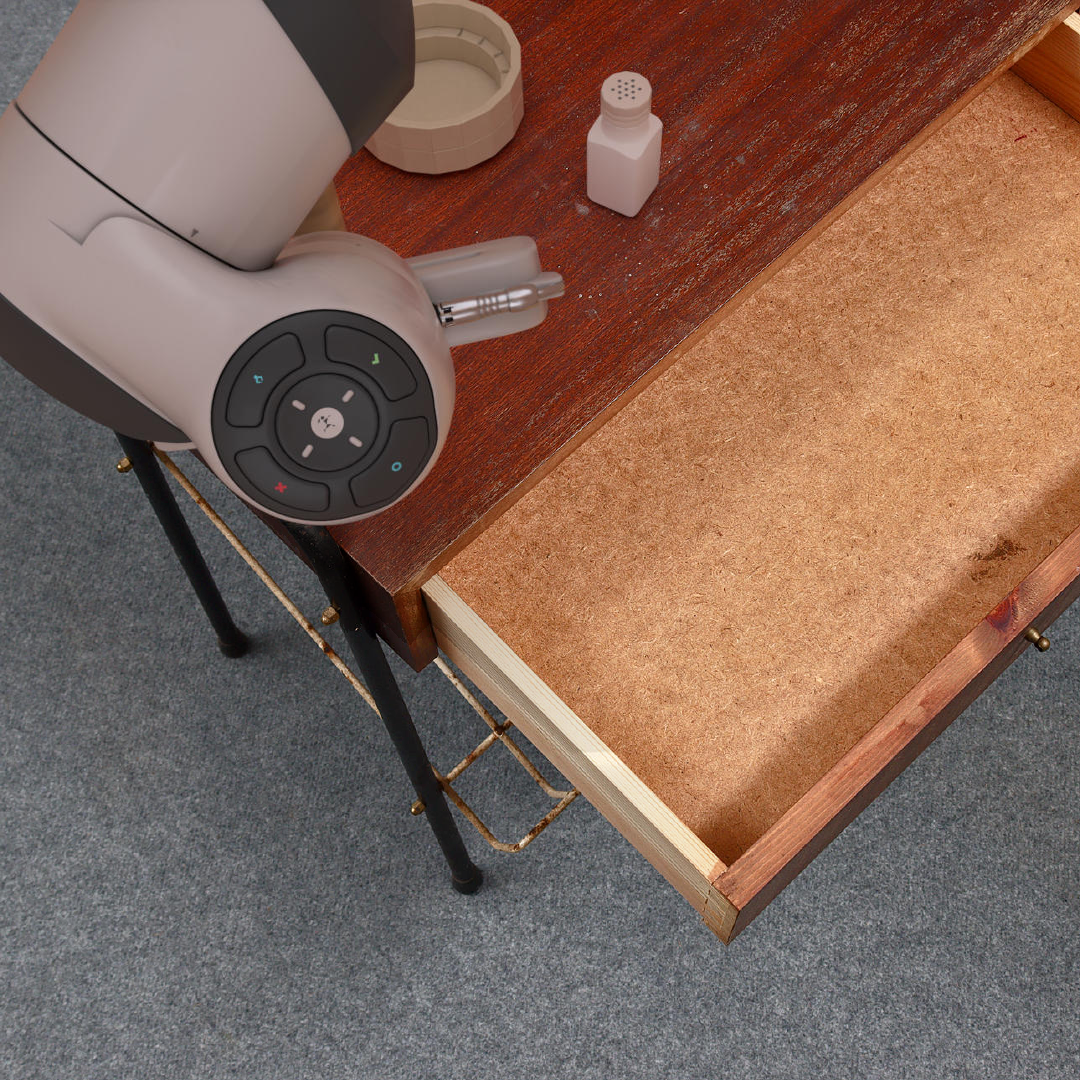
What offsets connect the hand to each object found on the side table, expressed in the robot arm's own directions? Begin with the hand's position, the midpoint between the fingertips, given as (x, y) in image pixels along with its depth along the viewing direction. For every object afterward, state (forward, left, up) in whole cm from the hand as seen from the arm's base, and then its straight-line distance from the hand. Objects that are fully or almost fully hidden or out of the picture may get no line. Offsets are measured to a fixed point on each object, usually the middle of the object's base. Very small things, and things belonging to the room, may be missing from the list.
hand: (339, 297), depth 67 cm
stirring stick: (0, -1, -15) cm, 15 cm away
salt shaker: (+16, +19, -15) cm, 29 cm away
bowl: (+3, +27, -15) cm, 31 cm away
